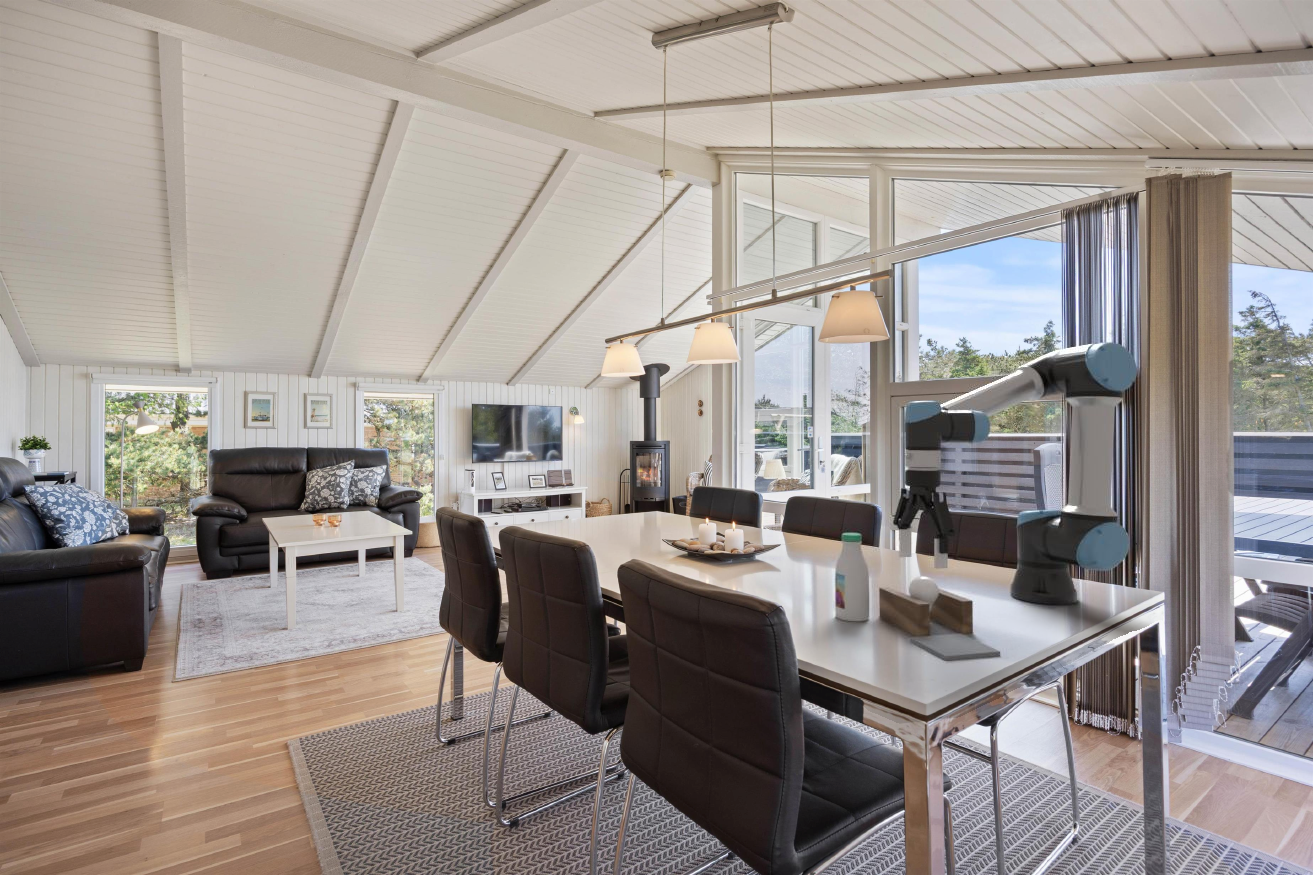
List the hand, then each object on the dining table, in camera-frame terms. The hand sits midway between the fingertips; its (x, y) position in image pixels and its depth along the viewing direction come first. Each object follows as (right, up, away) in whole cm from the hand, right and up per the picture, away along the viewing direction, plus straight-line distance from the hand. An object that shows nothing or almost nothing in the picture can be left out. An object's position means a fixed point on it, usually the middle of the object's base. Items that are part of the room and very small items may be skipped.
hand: (922, 562), depth 151 cm
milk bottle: (-14, -15, +6) cm, 21 cm away
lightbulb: (+1, -14, 0) cm, 14 cm away
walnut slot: (+1, -14, 0) cm, 14 cm away
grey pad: (0, -14, -16) cm, 22 cm away
